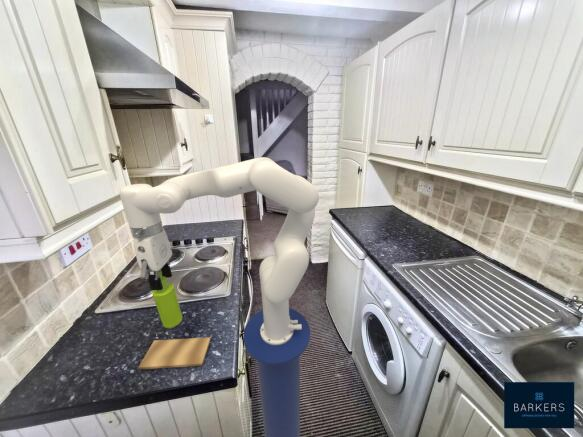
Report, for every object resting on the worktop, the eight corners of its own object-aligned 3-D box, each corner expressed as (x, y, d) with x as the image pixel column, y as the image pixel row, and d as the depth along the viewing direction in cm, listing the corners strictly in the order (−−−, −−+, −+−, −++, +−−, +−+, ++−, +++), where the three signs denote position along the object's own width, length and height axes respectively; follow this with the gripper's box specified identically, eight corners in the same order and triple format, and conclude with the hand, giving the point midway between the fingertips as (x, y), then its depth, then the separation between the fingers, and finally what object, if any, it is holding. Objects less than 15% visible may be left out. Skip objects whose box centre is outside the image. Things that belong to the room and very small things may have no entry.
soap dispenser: (179, 309, 79) (165, 260, 71) (184, 321, 74) (170, 271, 66) (160, 317, 76) (143, 267, 68) (164, 331, 71) (147, 279, 63)
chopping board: (210, 339, 83) (210, 337, 83) (202, 365, 74) (201, 363, 73) (154, 342, 82) (154, 340, 82) (139, 369, 73) (138, 367, 73)
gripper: (144, 243, 55) (161, 302, 62) (174, 217, 71) (185, 266, 78) (112, 244, 55) (133, 303, 62) (150, 218, 71) (163, 267, 78)
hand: (162, 282), depth 70 cm, fingers closed on soap dispenser, 5 cm apart
